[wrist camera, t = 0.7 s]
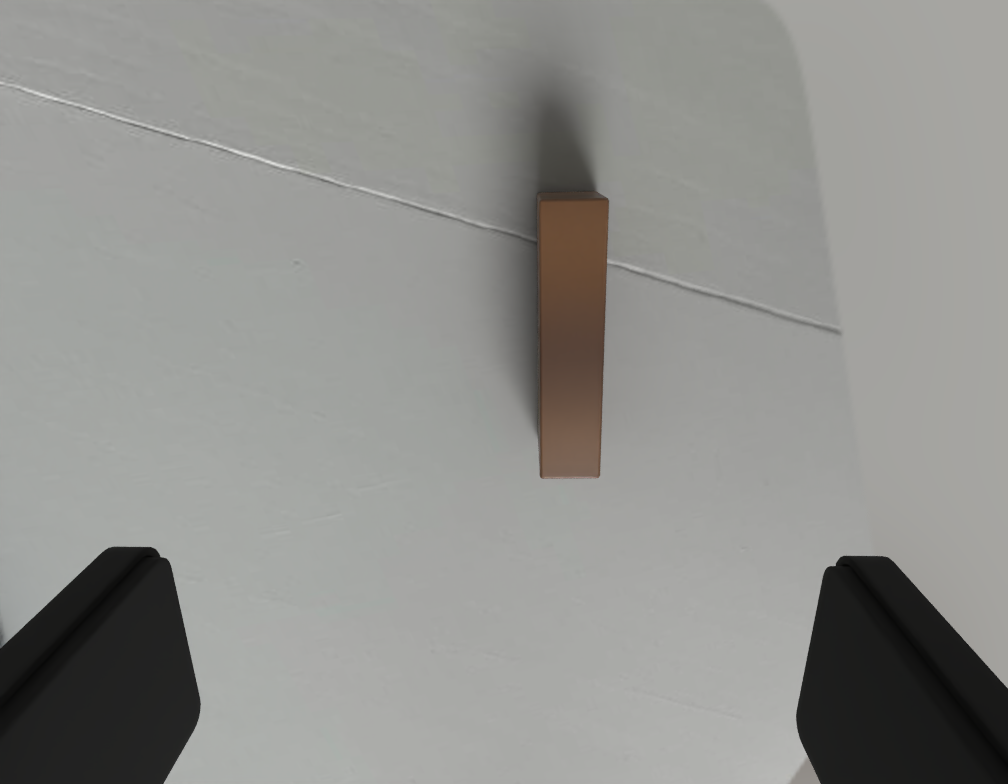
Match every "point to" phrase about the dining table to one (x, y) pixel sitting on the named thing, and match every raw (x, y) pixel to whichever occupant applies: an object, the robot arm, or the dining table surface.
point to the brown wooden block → (571, 331)
